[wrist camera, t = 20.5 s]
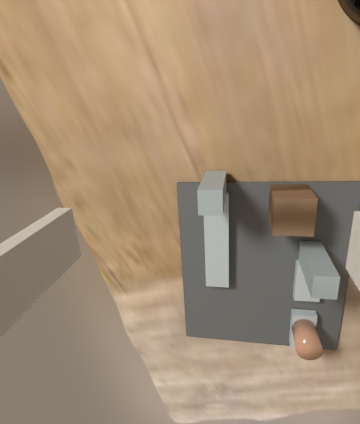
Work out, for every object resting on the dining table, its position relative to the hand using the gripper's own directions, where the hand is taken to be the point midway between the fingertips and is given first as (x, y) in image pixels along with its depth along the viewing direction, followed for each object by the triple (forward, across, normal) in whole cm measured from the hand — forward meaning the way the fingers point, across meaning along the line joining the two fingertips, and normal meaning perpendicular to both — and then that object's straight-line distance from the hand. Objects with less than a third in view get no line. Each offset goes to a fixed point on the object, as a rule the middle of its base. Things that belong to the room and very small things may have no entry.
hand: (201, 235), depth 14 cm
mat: (+35, +6, -23) cm, 42 cm away
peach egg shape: (+32, +13, -33) cm, 48 cm away
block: (+34, +9, -10) cm, 37 cm away
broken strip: (+35, +13, -27) cm, 46 cm away
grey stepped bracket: (+35, -2, -15) cm, 38 cm away
